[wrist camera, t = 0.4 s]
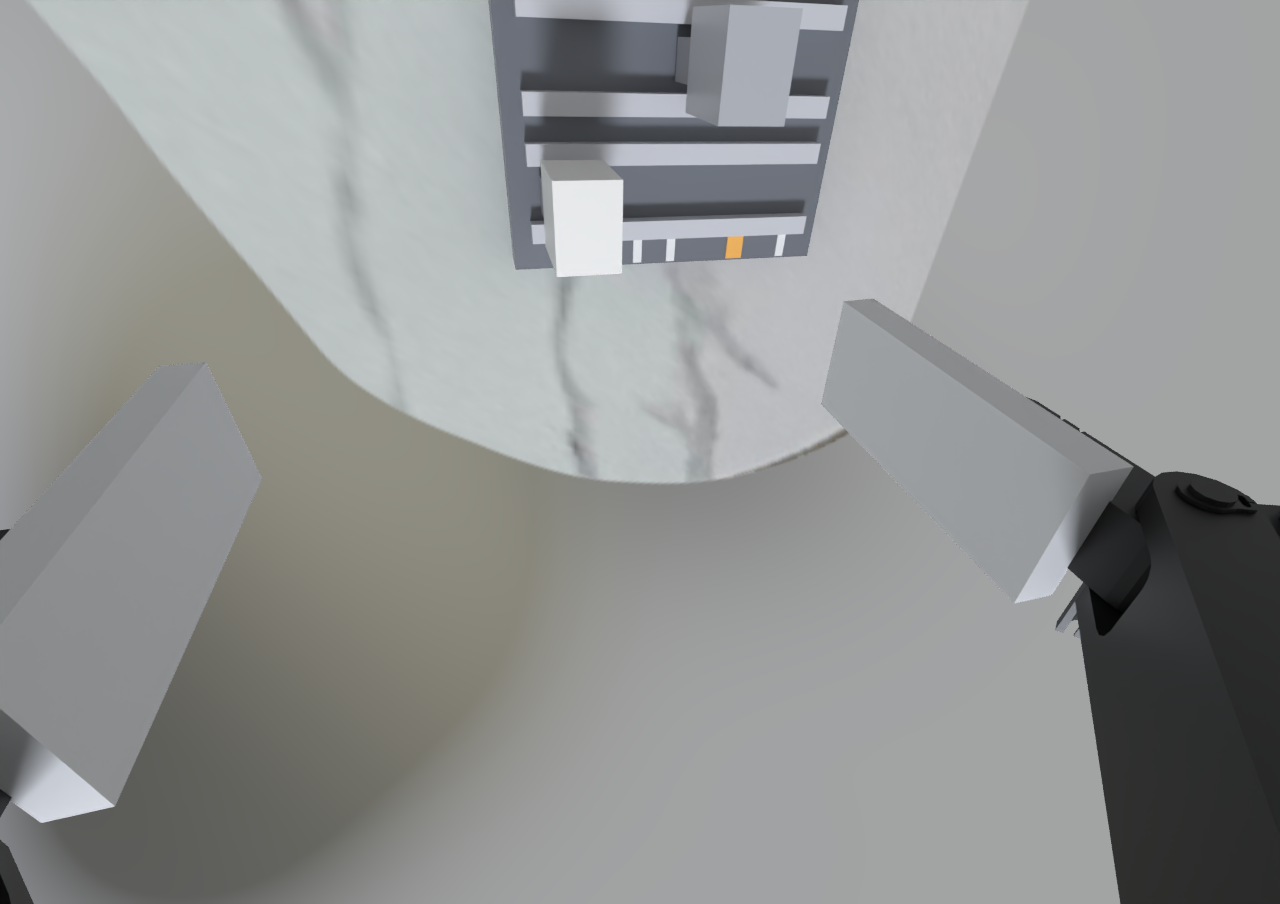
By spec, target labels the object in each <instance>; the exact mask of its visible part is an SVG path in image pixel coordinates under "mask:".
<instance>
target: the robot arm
mask: <svg viewBox="0 0 1280 904" xmlns="http://www.w3.org/2000/svg"><path fill="white" fill-rule="evenodd" d="M821 405H822V406H823V407H824V408H825V409H826V410H827V411H828V412H829V413H830V414H831V415H832V416H833V417H834V418H835V419H836V420H837V421H838V422H839V423H840V424H841V425H842V426H843V427H844V428H845V429H846V430H847V431H848V433H849V434H850V435H851V436H852V437H853V438H854V439H855V440H856V441H857V442H858V443H859V444H860V445H861V446H862V447H863V448H864V449H865V450H866V451H867V452H868V453H869V454H870V455H871V456H872V457H873V458H874V459H875V460H876V461H877V462H878V464H880V466H881V467H882V468H883V469H884V470H885V471H886V472H887V473H888V474H889V475H890V476H891V477H892V478H893V479H894V480H895V481H896V482H897V483H898V484H899V485H900V486H901V487H902V488H903V489H904V490H905V491H906V492H907V493H908V494H909V496H910V497H911V498H912V499H914V501H915V502H916V503H917V504H918V505H919V506H920V507H921V508H922V509H923V510H924V511H925V512H926V513H927V514H928V515H929V516H930V517H931V518H932V519H933V520H934V521H935V522H936V523H937V524H938V525H939V526H940V528H941V529H943V531H944V532H945V533H946V534H947V535H948V536H949V537H950V538H951V539H952V540H953V541H954V542H955V543H956V544H957V545H958V546H959V547H960V548H961V549H962V550H963V551H964V552H965V553H966V554H967V555H968V556H969V557H970V559H972V560H973V562H974V563H975V564H976V565H977V566H978V567H979V568H980V569H981V570H982V571H983V572H984V573H985V574H986V575H987V576H988V577H989V578H990V579H991V580H992V581H993V582H994V583H995V584H996V585H997V586H998V587H999V588H1000V589H1001V591H1002V592H1003V593H1004V594H1005V595H1006V596H1007V597H1008V598H1009V599H1011V601H1012V602H1013V603H1018V602H1023V601H1027V600H1032V599H1036V598H1040V597H1045V596H1050V595H1052V594H1053V592H1054V591H1055V589H1056V588H1057V586H1058V584H1059V583H1060V581H1061V580H1062V578H1063V576H1064V575H1065V573H1066V572H1067V570H1068V569H1070V570H1071V571H1072V572H1073V573H1074V574H1075V575H1076V576H1077V577H1078V578H1080V579H1081V580H1082V581H1083V584H1082V585H1081V587H1080V588H1079V590H1078V591H1077V593H1076V594H1075V596H1074V597H1073V599H1072V600H1071V601H1070V603H1069V605H1068V606H1067V607H1066V609H1065V610H1064V612H1063V613H1062V615H1061V617H1060V618H1059V620H1058V621H1057V625H1056V630H1057V631H1060V632H1063V631H1064V630H1065V629H1066V627H1067V626H1068V624H1069V623H1070V621H1073V620H1078V624H1079V628H1078V629H1077V631H1076V632H1075V633H1074V636H1075V637H1078V638H1081V644H1082V650H1083V656H1084V664H1085V670H1086V677H1087V684H1088V690H1089V697H1090V704H1091V710H1092V717H1093V724H1094V730H1095V736H1096V744H1097V750H1098V756H1099V764H1100V770H1101V777H1102V784H1103V790H1104V797H1105V803H1106V810H1107V816H1108V824H1109V830H1110V837H1111V844H1112V850H1113V856H1114V863H1115V870H1116V877H1117V884H1118V890H1119V897H1120V903H1121V904H1280V506H1276V505H1261V504H1257V503H1256V502H1255V501H1254V500H1252V499H1251V498H1250V497H1249V496H1247V495H1244V494H1243V493H1241V492H1240V491H1238V490H1237V489H1234V488H1232V487H1230V486H1228V485H1226V484H1223V483H1221V482H1219V481H1217V480H1213V479H1210V478H1207V477H1203V476H1200V475H1197V474H1191V473H1184V472H1165V473H1161V474H1159V475H1158V476H1156V477H1154V476H1153V475H1151V474H1150V473H1148V472H1147V471H1145V470H1143V469H1142V468H1140V467H1139V466H1137V465H1135V464H1134V463H1132V462H1131V461H1129V460H1128V459H1126V458H1125V457H1123V456H1121V455H1120V454H1118V453H1117V452H1115V451H1114V450H1112V449H1111V448H1109V447H1108V446H1106V445H1104V444H1103V443H1101V442H1100V441H1098V440H1097V439H1095V438H1093V437H1092V436H1090V435H1089V434H1087V433H1086V432H1080V431H1079V428H1078V427H1076V426H1075V425H1073V424H1071V423H1070V422H1069V421H1067V420H1065V419H1064V420H1061V419H1060V416H1059V415H1058V414H1056V413H1054V412H1053V411H1051V410H1050V409H1048V408H1047V407H1045V406H1044V405H1042V404H1040V403H1039V402H1037V401H1035V400H1032V399H1030V398H1027V397H1025V396H1023V395H1022V394H1020V393H1019V392H1017V391H1016V390H1014V389H1013V388H1011V387H1010V386H1008V385H1006V384H1005V383H1003V382H1002V381H1000V380H999V379H997V378H995V377H994V376H992V375H991V374H989V373H988V372H986V371H984V370H983V369H982V368H980V367H978V366H977V365H975V364H974V363H972V362H970V361H969V360H967V359H966V358H965V357H963V356H961V355H960V354H958V353H957V352H955V351H954V350H952V349H951V348H949V347H947V346H946V345H944V344H943V343H941V342H939V341H938V340H937V339H935V338H934V337H932V336H930V335H929V334H927V333H926V332H924V331H923V330H921V329H919V328H918V327H916V326H915V325H913V324H912V323H910V322H909V321H907V320H906V319H904V318H902V317H901V316H899V315H898V314H896V313H895V312H893V311H892V310H890V309H889V308H887V307H885V306H884V305H882V304H881V303H879V302H878V301H876V300H875V299H865V300H855V301H844V303H843V308H842V312H841V317H840V321H839V326H838V330H837V335H836V339H835V344H834V348H833V353H832V357H831V362H830V366H829V371H828V375H827V380H826V384H825V389H824V394H823V398H822V403H821ZM261 480H262V477H261V475H260V473H259V471H258V469H257V467H256V465H255V463H254V461H253V459H252V457H251V454H250V452H249V450H248V448H247V446H246V444H245V442H244V440H243V438H242V436H241V434H240V432H239V430H238V428H237V426H236V423H235V421H234V419H233V417H232V415H231V413H230V411H229V409H228V407H227V405H226V403H225V401H224V399H223V396H222V394H221V392H220V390H219V389H218V386H217V384H216V382H215V380H214V378H213V376H212V374H211V372H210V369H209V368H208V365H207V363H206V362H201V363H190V364H180V365H169V366H159V367H158V368H157V369H156V370H155V371H154V372H153V373H152V374H151V376H150V377H149V378H148V379H147V380H146V381H145V382H144V383H143V384H142V385H141V387H140V388H139V389H138V390H137V391H136V392H135V393H134V394H133V396H131V398H130V399H129V400H128V401H127V402H126V403H125V404H124V405H123V406H122V408H121V409H120V410H119V411H118V412H117V413H116V414H115V415H114V416H113V417H112V418H111V419H110V421H109V422H108V423H107V424H106V425H105V426H104V427H103V428H102V429H101V430H100V432H99V433H98V434H97V435H96V436H95V437H94V438H93V439H92V440H91V441H90V443H89V444H88V445H87V446H86V447H85V448H84V449H83V450H82V452H80V453H79V455H78V456H77V457H76V458H75V459H74V460H73V461H72V462H71V463H70V464H69V466H68V467H67V468H66V469H65V470H64V471H63V472H62V473H61V474H60V476H58V478H57V479H56V480H55V481H54V482H53V483H52V484H51V485H50V486H49V487H48V489H47V490H46V491H45V492H44V493H43V494H42V495H41V496H40V497H39V498H38V500H37V501H36V502H35V503H34V504H33V505H32V506H31V507H30V509H28V510H27V512H26V513H25V514H24V515H23V516H22V517H21V518H20V519H19V520H18V521H17V523H16V524H15V525H14V526H13V527H12V528H11V529H7V530H0V817H1V815H2V813H3V811H4V810H5V808H6V806H7V805H8V803H9V801H12V802H13V803H14V804H16V805H17V806H19V807H20V808H21V809H23V810H24V811H26V812H27V813H29V814H30V815H31V816H33V817H34V818H35V819H37V820H38V821H39V822H41V823H43V822H48V821H52V820H56V819H61V818H65V817H70V816H74V815H78V814H83V813H87V812H91V811H96V810H101V809H105V808H110V807H114V806H115V805H116V803H117V800H118V798H119V796H120V794H121V791H122V789H123V787H124V784H125V783H126V780H127V778H128V776H129V773H130V771H131V769H132V767H133V765H134V763H135V760H136V758H137V756H138V754H139V751H140V749H141V747H142V745H143V743H144V740H145V738H146V736H147V734H148V731H149V729H150V727H151V725H152V723H153V720H154V718H155V716H156V713H157V711H158V709H159V707H160V705H161V703H162V700H163V698H164V696H165V694H166V691H167V689H168V687H169V684H170V682H171V680H172V678H173V676H174V674H175V671H176V669H177V667H178V665H179V663H180V660H181V658H182V656H183V654H184V651H185V649H186V647H187V645H188V642H189V640H190V638H191V636H192V633H193V631H194V629H195V627H196V625H197V622H198V620H199V618H200V616H201V614H202V611H203V609H204V607H205V605H206V602H207V600H208V598H209V596H210V594H211V591H212V589H213V587H214V585H215V582H216V580H217V578H218V576H219V573H220V571H221V569H222V567H223V565H224V562H225V560H226V558H227V556H228V553H229V551H230V549H231V547H232V545H233V542H234V540H235V538H236V536H237V534H238V531H239V529H240V527H241V525H242V522H243V520H244V518H245V516H246V513H247V511H248V509H249V507H250V505H251V502H252V500H253V498H254V496H255V493H256V491H257V489H258V487H259V484H260V482H261ZM0 904H34V903H33V901H32V899H31V897H30V894H29V892H28V890H27V888H26V886H25V883H24V881H23V879H22V876H21V874H20V872H19V870H18V867H17V865H16V863H15V861H14V858H13V856H12V854H11V852H10V849H9V847H8V846H7V845H5V844H4V843H3V842H2V841H1V840H0Z"/></svg>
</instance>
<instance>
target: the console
mask: <svg viewBox="0 0 1280 904" xmlns="http://www.w3.org/2000/svg"><path fill="white" fill-rule="evenodd" d="M858 2H859V0H489V9H490V19H491V30H492V40H493V51H494V61H495V72H496V82H497V93H498V103H499V113H500V124H501V134H502V145H503V155H504V166H505V176H506V187H507V197H508V208H509V218H510V228H511V239H512V249H513V259H514V264H515V268H516V270H519V269H539V268H553V265H552V262H551V260H550V257H549V254H548V252H547V249H546V244H545V228H544V217H543V215H542V213H541V199H540V184H539V175H541V163H540V160H604V161H605V162H606V163H607V164H608V165H609V166H610V167H611V168H612V169H613V170H614V171H615V172H616V173H617V174H618V175H619V176H620V177H621V178H622V179H623V231H622V265H623V264H644V263H665V262H686V261H707V260H728V259H749V258H770V257H791V256H807V252H808V247H809V242H810V237H811V232H812V227H813V223H814V218H815V213H816V208H817V203H818V198H819V193H820V188H821V183H822V178H823V173H824V169H825V164H826V159H827V154H828V149H829V144H830V139H831V134H832V129H833V124H834V120H835V115H836V110H837V105H838V100H839V95H840V90H841V85H842V80H843V75H844V71H845V66H846V61H847V56H848V51H849V46H850V41H851V36H852V31H853V26H854V22H855V17H856V12H857V7H858ZM714 5H747V6H766V7H785V8H803V12H802V18H801V25H800V31H799V37H798V43H797V50H796V56H795V62H794V68H793V75H792V81H791V87H790V93H789V100H788V106H787V112H786V118H785V125H784V127H771V126H716V125H714V124H711V123H709V122H707V121H704V120H702V119H699V118H697V117H695V116H692V115H690V114H687V113H685V111H686V97H687V85H686V84H683V83H679V82H676V81H675V75H676V59H677V42H678V37H691V26H692V11H693V7H697V6H714Z"/></svg>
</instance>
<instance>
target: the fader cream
mask: <svg viewBox="0 0 1280 904" xmlns="http://www.w3.org/2000/svg"><path fill="white" fill-rule="evenodd" d="M540 163H541V175H539V184H540V199H541V213H542V215H543V217H544V228H545V244H546V249H547V252H548V254H549V257H550V260H551V262H552V265H553V268H554V270H555V273H556V276H557V277H566V276H586V275H605V274H622V231H623V179H622V178H621V177H620V176H619V175H618V174H617V173H616V172H615V171H614V170H613V169H612V168H611V167H610V166H609V165H608V164H607V163H606V162H605V161H604V160H540Z"/></svg>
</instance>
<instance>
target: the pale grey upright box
mask: <svg viewBox="0 0 1280 904" xmlns="http://www.w3.org/2000/svg"><path fill="white" fill-rule="evenodd" d="M802 12H803V8H785V7H766V6H747V5H714V6H697V7H693V11H692V26H691V37H678V42H677V59H676V75H675V81H676V82H679V83H683V84H686V85H687V97H686V111H685V113H687V114H690V115H692V116H695V117H697V118H699V119H702V120H704V121H707V122H709V123H711V124H714V125H716V126H771V127H784V125H785V118H786V112H787V106H788V100H789V93H790V87H791V81H792V75H793V68H794V62H795V56H796V50H797V43H798V37H799V31H800V25H801V18H802Z"/></svg>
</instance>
